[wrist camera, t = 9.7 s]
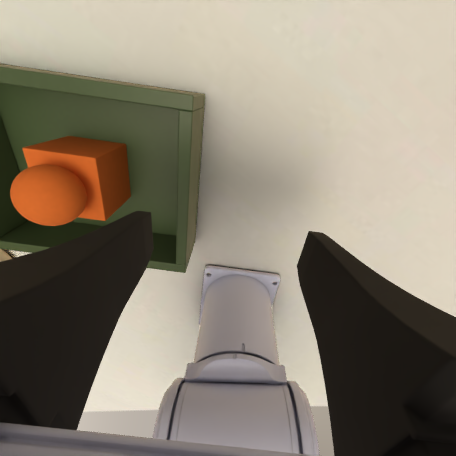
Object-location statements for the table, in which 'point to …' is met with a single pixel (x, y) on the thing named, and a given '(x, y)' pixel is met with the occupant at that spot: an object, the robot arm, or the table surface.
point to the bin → (113, 132)
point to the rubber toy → (71, 180)
